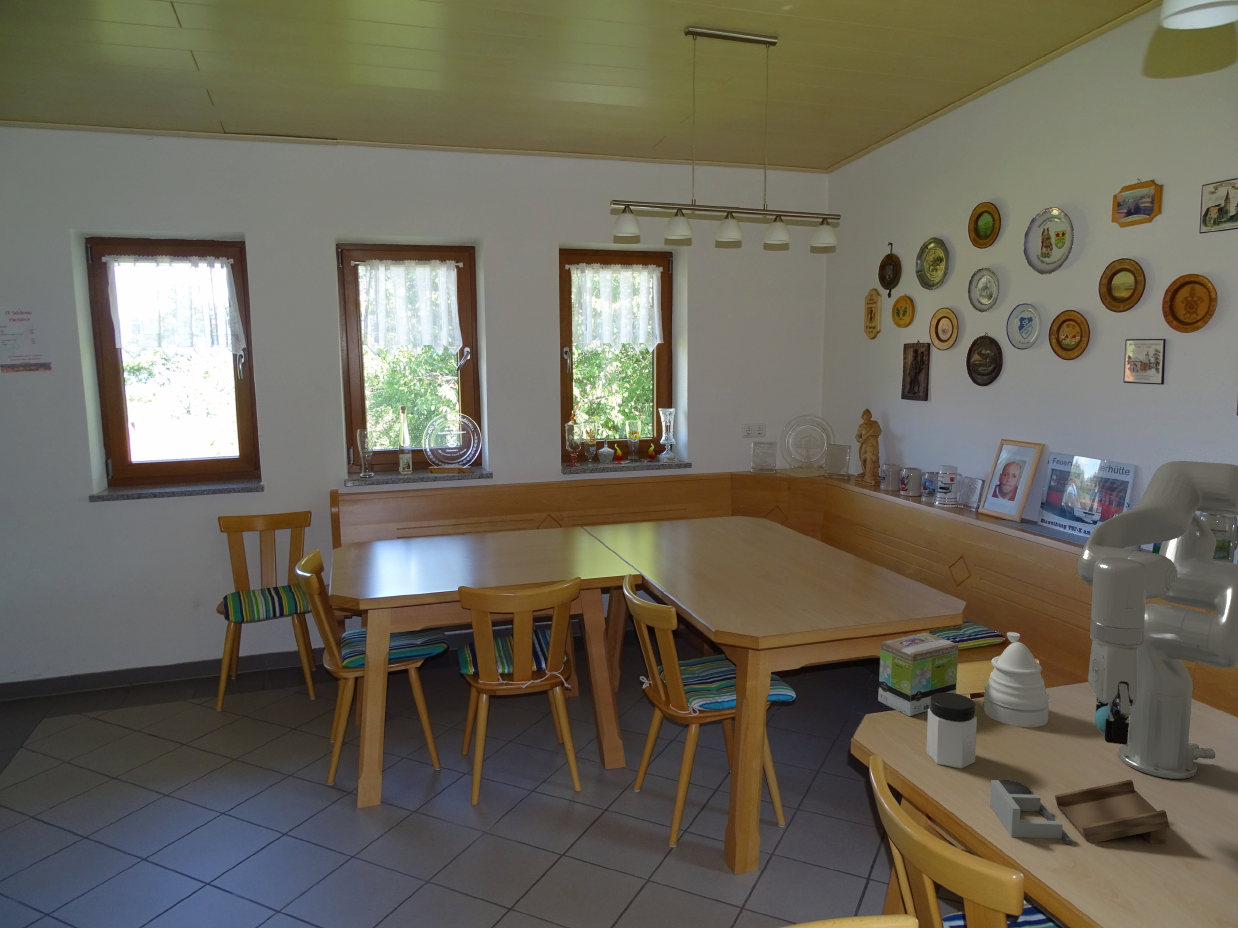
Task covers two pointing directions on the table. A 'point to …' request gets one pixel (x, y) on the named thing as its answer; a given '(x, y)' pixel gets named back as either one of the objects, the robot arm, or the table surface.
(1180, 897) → the table surface
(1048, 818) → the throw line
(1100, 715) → the ball
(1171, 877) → the table surface
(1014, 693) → the honey pot
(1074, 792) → the ramp
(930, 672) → the tea box
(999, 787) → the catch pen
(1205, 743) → the table surface
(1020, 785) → the dark grey disc
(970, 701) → the jar
